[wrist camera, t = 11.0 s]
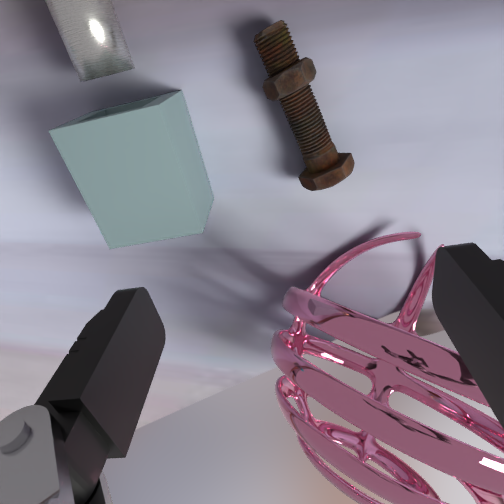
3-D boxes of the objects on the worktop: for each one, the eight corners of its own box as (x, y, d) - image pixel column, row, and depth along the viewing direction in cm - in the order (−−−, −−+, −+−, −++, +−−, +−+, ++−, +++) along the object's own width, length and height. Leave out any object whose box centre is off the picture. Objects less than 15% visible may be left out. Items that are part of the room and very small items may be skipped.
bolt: (275, 25, 32) (330, 164, 39) (233, 50, 31) (297, 188, 38) (308, 2, 27) (365, 166, 34) (258, 30, 26) (327, 194, 33)
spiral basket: (569, 163, 17) (380, 694, 16) (680, 310, 30) (583, 605, 29) (279, 184, 42) (195, 393, 40) (410, 261, 55) (351, 419, 54)
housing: (181, 90, 34) (159, 104, 27) (214, 198, 40) (202, 233, 33) (92, 111, 35) (48, 130, 28) (136, 212, 42) (109, 249, 35)
